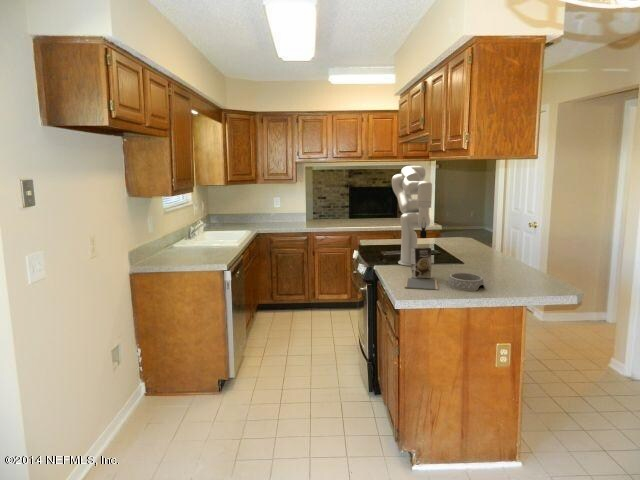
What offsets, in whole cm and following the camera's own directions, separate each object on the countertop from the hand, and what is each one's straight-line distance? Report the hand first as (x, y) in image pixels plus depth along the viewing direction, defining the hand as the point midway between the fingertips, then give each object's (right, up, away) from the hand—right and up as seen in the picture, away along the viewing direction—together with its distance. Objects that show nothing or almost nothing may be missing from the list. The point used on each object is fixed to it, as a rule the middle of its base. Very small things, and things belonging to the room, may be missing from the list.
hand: (423, 237), depth 251 cm
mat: (-5, -24, -17) cm, 30 cm away
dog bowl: (+17, -25, -20) cm, 36 cm away
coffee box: (-2, -22, -5) cm, 22 cm away
